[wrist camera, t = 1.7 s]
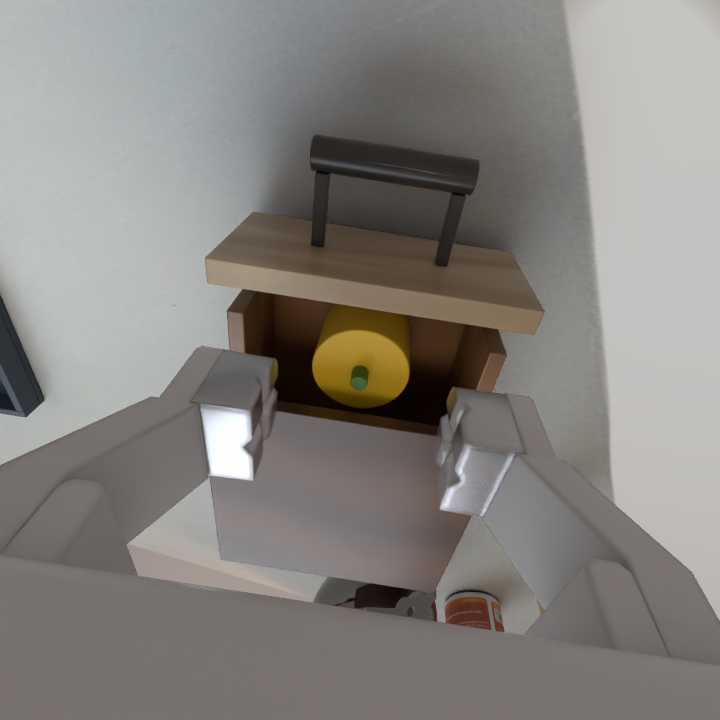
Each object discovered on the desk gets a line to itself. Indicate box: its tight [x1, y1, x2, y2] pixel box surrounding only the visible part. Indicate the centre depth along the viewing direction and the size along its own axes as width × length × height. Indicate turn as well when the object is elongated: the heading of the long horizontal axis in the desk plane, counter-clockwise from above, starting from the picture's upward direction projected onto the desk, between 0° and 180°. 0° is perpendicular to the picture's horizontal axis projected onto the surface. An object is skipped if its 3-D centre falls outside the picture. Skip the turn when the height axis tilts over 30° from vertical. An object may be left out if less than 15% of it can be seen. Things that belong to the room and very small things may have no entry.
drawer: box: [205, 134, 544, 426], centre depth 23 cm, size 19×14×7 cm
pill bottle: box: [445, 592, 504, 632], centre depth 43 cm, size 6×6×11 cm
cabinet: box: [209, 400, 471, 593], centre depth 29 cm, size 16×16×9 cm
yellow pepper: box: [312, 304, 410, 408], centre depth 23 cm, size 5×5×5 cm
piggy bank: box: [313, 577, 437, 622], centre depth 39 cm, size 11×15×12 cm
